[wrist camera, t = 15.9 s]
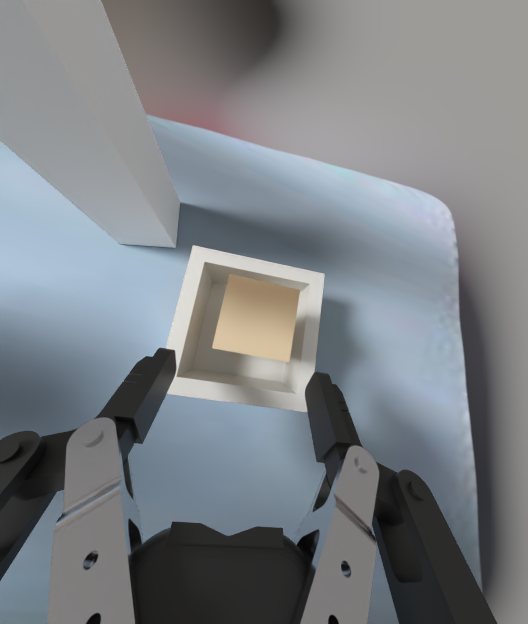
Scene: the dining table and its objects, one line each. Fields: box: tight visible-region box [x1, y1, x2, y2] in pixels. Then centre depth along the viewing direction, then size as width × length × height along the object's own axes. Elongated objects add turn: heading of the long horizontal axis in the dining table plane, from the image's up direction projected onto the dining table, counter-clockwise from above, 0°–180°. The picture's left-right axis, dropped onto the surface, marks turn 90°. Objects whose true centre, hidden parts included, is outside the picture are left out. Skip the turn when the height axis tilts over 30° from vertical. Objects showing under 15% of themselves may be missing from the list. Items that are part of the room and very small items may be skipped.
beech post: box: [212, 274, 300, 362], centre depth 15 cm, size 4×4×10 cm
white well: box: [166, 245, 325, 413], centre depth 18 cm, size 11×11×6 cm
